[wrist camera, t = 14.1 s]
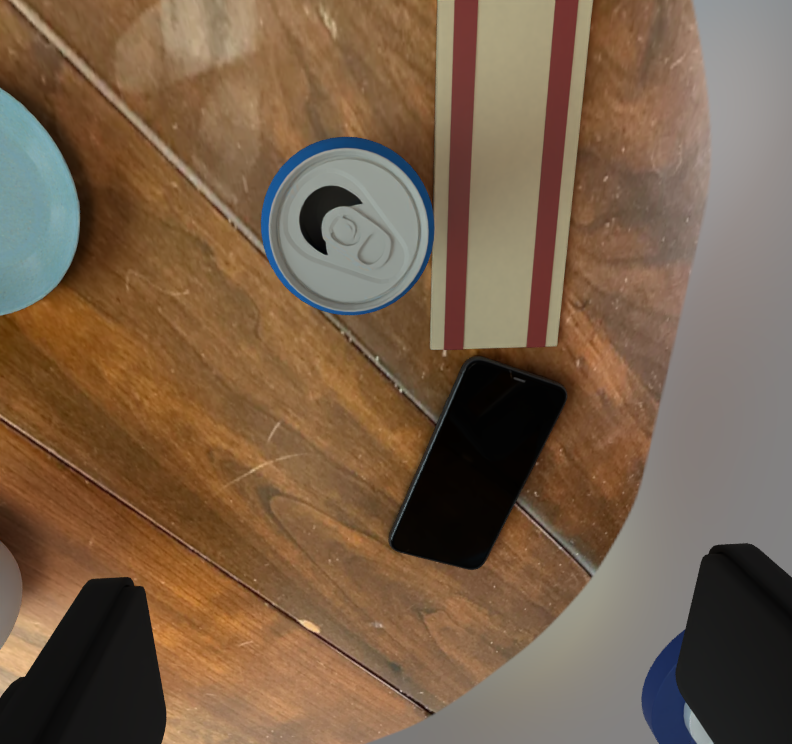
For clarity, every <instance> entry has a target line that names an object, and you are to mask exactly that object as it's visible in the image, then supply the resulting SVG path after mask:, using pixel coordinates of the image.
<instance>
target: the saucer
mask: <svg viewBox="0 0 792 744" xmlns="http://www.w3.org/2000/svg"><path fill="white" fill-rule="evenodd" d="M80 213H81V212H80V205H79V200H78V195H77V191H76V187H75V183H74V181H73V178H72V175H71V173H70V170H69V168H68V166H67V164H66V161H65V159H64V157H63V155H62V153H61V151H60V150H59V148H58V147H57V145H56V143H55V142H54V140H53V139H52V137H51V136H50V135H49V133H48V132H47V130H46V129H45V128H44V127H43V125H42V124H41V123H40V122H39V121H38V120H37V119H36V118H35V116H34V115H33V114H31V113H30V112H29V111H28V109H27V108H26V107H25V106H24V105H23V104H21V102H19V101H17V100H16V99H15V98H14V97H13V96H12V95H10V94H9V93H7V92H6V91H4V90H3V89H1V88H0V315H4V314H9V313H13V312H15V311H19V310H21V309H23V308H26V307H28V306H30V305H32V304H33V303H35V302H37V301H39V300H41V299H43V297H44V296H46V295H48V293H50V292H51V291H52V290H53V289H54V288H55V287H56V286H57V285H58V284H59V283H60V281H61V280H62V278H63V277H64V275H65V274H66V272H67V270H68V268H69V266H70V265H71V262H72V260H73V257H74V255H75V252H76V248H77V245H78V240H79V232H80Z"/></svg>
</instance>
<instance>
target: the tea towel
mask: <svg viewBox="0 0 792 744" xmlns="http://www.w3.org/2000/svg"><path fill="white" fill-rule="evenodd" d="M592 4H593V0H437V47H436V93H435V139H434V185H433V214H434V226H435V230H434V242H433V247H432V277H431V323H430V349H431V350H461V349H477V348H510V347H545V346H557V341H558V331H559V322H560V312H561V302H562V293H563V283H564V273H565V264H566V254H567V245H568V235H569V225H570V216H571V206H572V196H573V187H574V177H575V168H576V158H577V148H578V139H579V129H580V119H581V110H582V100H583V91H584V81H585V71H586V62H587V52H588V42H589V33H590V23H591V14H592Z"/></svg>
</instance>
